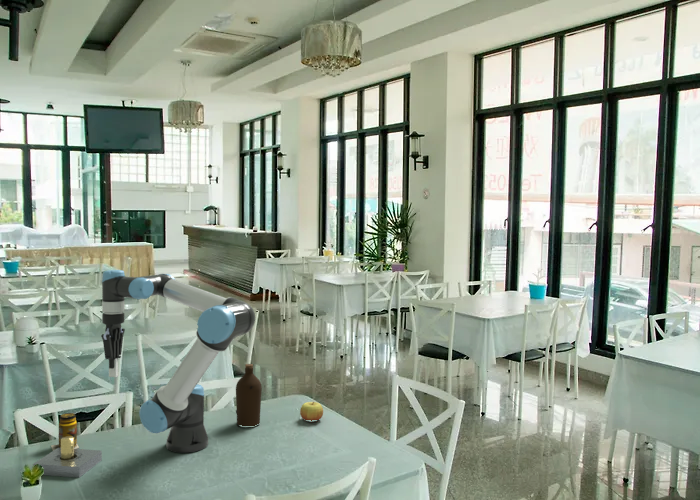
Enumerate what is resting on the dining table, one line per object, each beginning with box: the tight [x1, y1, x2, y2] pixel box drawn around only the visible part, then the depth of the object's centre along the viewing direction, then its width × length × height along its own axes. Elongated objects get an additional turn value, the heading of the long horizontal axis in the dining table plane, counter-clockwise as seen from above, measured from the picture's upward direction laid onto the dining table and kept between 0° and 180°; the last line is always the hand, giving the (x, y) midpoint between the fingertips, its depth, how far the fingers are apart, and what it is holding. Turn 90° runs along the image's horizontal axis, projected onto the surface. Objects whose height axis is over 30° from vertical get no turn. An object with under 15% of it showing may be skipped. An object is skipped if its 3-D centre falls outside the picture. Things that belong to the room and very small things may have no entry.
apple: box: [299, 401, 324, 421], centre depth 255 cm, size 10×10×8 cm
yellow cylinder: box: [61, 436, 74, 460], centre depth 203 cm, size 4×4×10 cm
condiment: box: [50, 412, 80, 451], centre depth 220 cm, size 7×8×12 cm
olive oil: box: [235, 363, 263, 426], centre depth 248 cm, size 11×11×25 cm
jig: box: [32, 448, 103, 478], centre depth 203 cm, size 16×14×4 cm
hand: (113, 376), depth 220 cm, fingers closed
